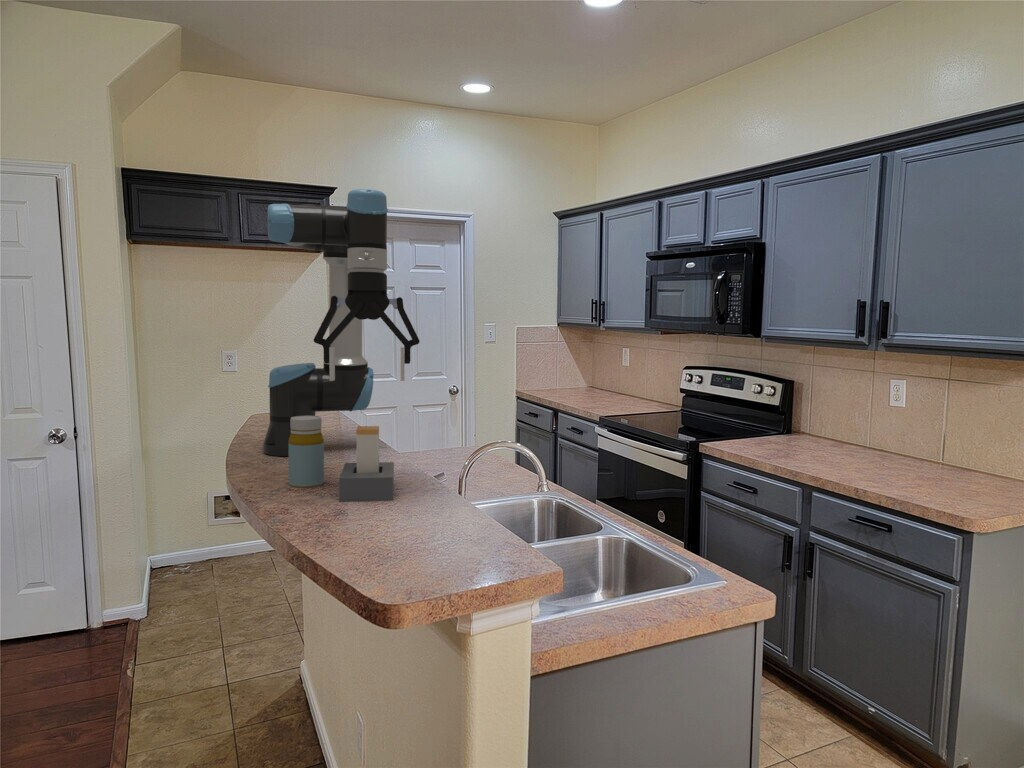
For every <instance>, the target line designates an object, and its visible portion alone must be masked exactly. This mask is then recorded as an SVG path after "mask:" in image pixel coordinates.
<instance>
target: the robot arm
mask: <svg viewBox="0 0 1024 768" xmlns="http://www.w3.org/2000/svg"><path fill="white" fill-rule="evenodd" d="M387 200H388V199H387V196H386V193H384V192H383V191H380V190H376V189H370V188H357V189H352V190H350V191H349V192H348V193H347V203H346V206H340V205H325V204H323V205H322V204H313V203H312V204H311V203H307V204H288V203H272V204H269V205H268V206H267V237H268V240H269V241H270V242H275V243H276V242H277V243H282V244H286V245H288V246H291V247H293V248H296V249H297V248H298V249H303V250H307V251H315V252H323V253H322V258H323V259H324V261H325V262H326V263H327V264H328V267H329V269H328V271H329V272H328V273H329V275H328V276H329V277H328V280H329V281H328V282H329V283H328V288H329V289H328V291H329V292H328V293H329V294H328V295H329V299H328V301H329V302H328V303H329V308H328V311H326V314H325V316H324V318H323V320H322V322H321V323H320V327H319V328H318V329H317V332H316V334H315V336H314V338H313V342H314V344H317V345H321V346H322V347H323V367H320V368H319V367H318V368H316V364H315V363H314V362H308V363H306V362H305V363H303V362H302V363H294V364H287V365H282V366H277V367H274V368H272V369H271V370H270V372H269V374H268V375H269V379H268V387H267V388H269V424H268V428H267V431H266V434H265V437H264V440H263V443H262V453H263V454H265V455H267V456H268V455H269V456H276V457H289V438H290V435H291V427H290V419H291V417H295V416H316V413H318V412H345V411H346V412H355V411H363V410H366V409H367V408H368V407H369V405H370V402H371V399H372V395H373V389H374V370H373V368H371V367H368V364H369V363H368V361H367V359H365V357H363V320H367V319H368V320H373V321H376V320H378V319H381V320H382V321H383V322H384V323H385V325H386V326H387V327H388V328H389V329H390V331H391V332H392V333H393V334H394V336H395V337H396V338H397V339H398V340H399V341H400V343H402V345H403V347H400V381H401V382H405V365H407V364H408V365H409V364H410V363H411V349H412V347H413V346H416V345H419V344H420V342H421V341H420V339H419V336H418V334H417V333H416V331H415V329H414V326H413V325H412V323H411V320H410V318H409V317H408V314H407V313H406V310H405V307H404V300H403V298H402V297H400V296H398V297H396V298H389V297H388V275H387V274H386V273H385V272H386V271H387V270H388V250H387V247H388V246H387V241H388V238H387V234H388V233H387V232H388V231H387V230H388V229H387V228H388V226H387V225H388V222H387V221H388V213H389V209H388V206H387V205H388V204H387V202H388V201H387ZM390 305H391V306H392V307H393V309H394V310H397V312H398V313H399V316H400V318H401V320H402V322H403V324H404V326H405V328H406V330H407V332H408V334H409V336H410V338H411V339H408V338H407V337H406V336H405V335H404V334H403V332H402V331H400V329H399V328H398V327H397V325H395V323H394V322H393V321H392V320H391V319H390V317H389V316H388V315H387V314H386V312H385V311H386V309H387V308H389V306H390ZM328 329H329V332H328V333H329V334H328V336H327V337H326V338H324V337H325V334H326V332H327V331H328Z"/></svg>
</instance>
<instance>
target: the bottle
mask: <svg viewBox="0 0 1024 768" xmlns="http://www.w3.org/2000/svg"><path fill="white" fill-rule="evenodd" d="M290 427H291V435H290V438H289V456H288V485H289V487H292V488H296V489H309V488H310V489H311V488H317V487H320V486H323V485H324V484H325V449H324V448H325V447H324V446H325V442H324V440H325V439H324V437H323V434H322V417H321V416H318V415H315V416H295V417H291V419H290Z"/></svg>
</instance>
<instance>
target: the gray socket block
mask: <svg viewBox="0 0 1024 768" xmlns="http://www.w3.org/2000/svg"><path fill="white" fill-rule="evenodd" d="M394 464H395V463H394V462H393V461H390V462H389V461H386V462H384V461H383V462H382V461H381V462H380V461H379V473H357V462H345V463H344V465H343V469H342V471H341V473H340V475H339V478H338V479H339V480H338V481H339V482H338V488H339V489H338V490H339V491H338V493H339V496H338V497H339V501H338V503H350V502H351V503H352V502H354V503H355V502H356V503H357V502H388V501H389V502H390V501H392V502H393V501H394V488H395V487H394V486H395V485H394V484H395V480H394V479H395V478H394V477H395V475H394V474H395V468H394V467H395V465H394Z"/></svg>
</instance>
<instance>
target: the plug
mask: <svg viewBox="0 0 1024 768" xmlns="http://www.w3.org/2000/svg"><path fill="white" fill-rule="evenodd" d="M379 462H380V426H379V425H374V426H373V425H370V426H369V425H366V426H365V425H363V426H362V425H361V426H360V425H359V426H357V428H356V463H357V473H379Z"/></svg>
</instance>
